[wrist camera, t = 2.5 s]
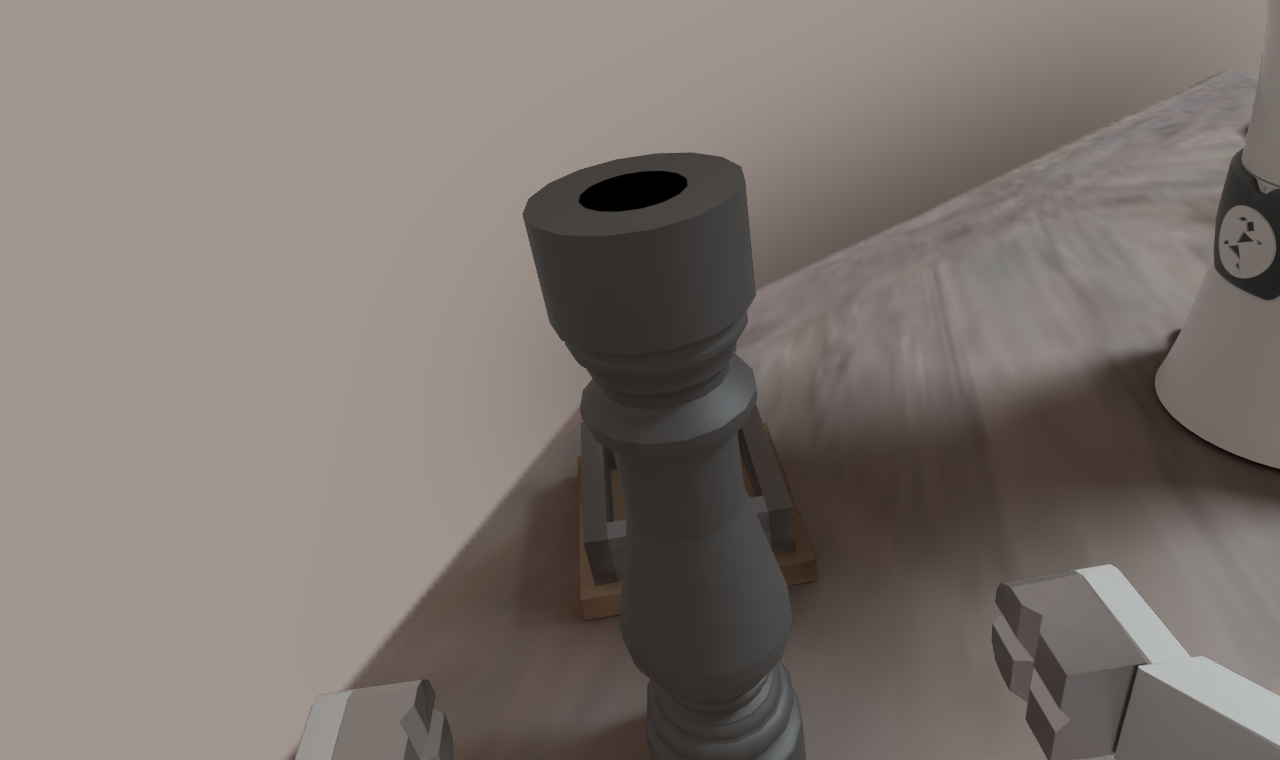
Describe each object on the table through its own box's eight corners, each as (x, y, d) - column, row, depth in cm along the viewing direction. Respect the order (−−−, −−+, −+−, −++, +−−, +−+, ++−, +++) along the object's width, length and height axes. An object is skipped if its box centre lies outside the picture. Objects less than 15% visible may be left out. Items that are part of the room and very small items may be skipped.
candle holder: (645, 718, 36) (508, 180, 23) (778, 684, 36) (719, 134, 23) (674, 858, 31) (517, 263, 17) (829, 816, 31) (791, 203, 18)
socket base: (767, 442, 51) (761, 383, 49) (816, 580, 41) (812, 515, 39) (582, 474, 51) (567, 417, 49) (585, 620, 41) (567, 557, 39)
